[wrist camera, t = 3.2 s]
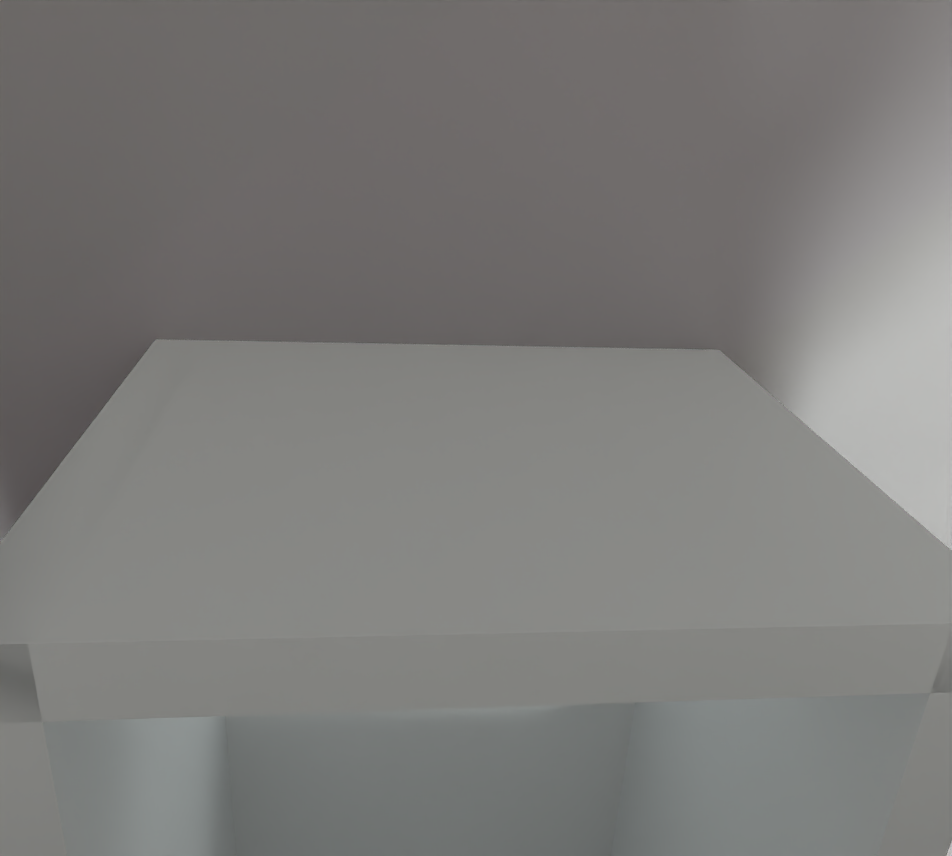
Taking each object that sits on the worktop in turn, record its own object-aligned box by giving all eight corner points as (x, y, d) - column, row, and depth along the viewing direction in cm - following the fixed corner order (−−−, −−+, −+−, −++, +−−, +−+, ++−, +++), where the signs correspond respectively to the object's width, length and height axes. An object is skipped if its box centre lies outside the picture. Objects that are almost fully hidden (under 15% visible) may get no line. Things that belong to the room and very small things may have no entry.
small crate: (156, 338, 9) (-79, 646, 4) (718, 349, 10) (1034, 622, 5) (214, 939, 12) (120, 1457, 8) (620, 913, 13) (751, 1376, 9)
